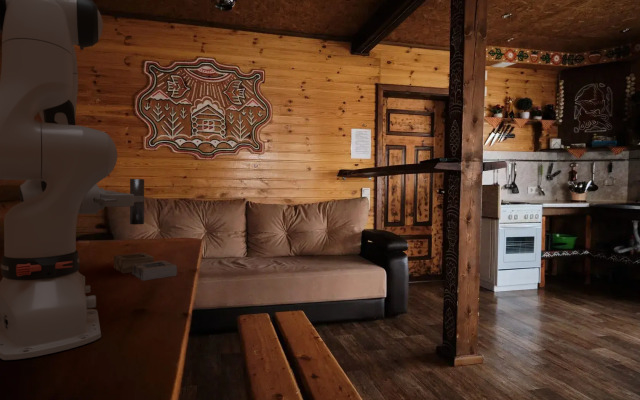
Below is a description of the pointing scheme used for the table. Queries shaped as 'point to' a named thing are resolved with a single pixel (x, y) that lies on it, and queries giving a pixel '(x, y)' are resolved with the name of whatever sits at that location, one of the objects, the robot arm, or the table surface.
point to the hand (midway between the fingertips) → (139, 198)
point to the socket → (154, 270)
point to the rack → (130, 261)
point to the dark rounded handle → (138, 207)
